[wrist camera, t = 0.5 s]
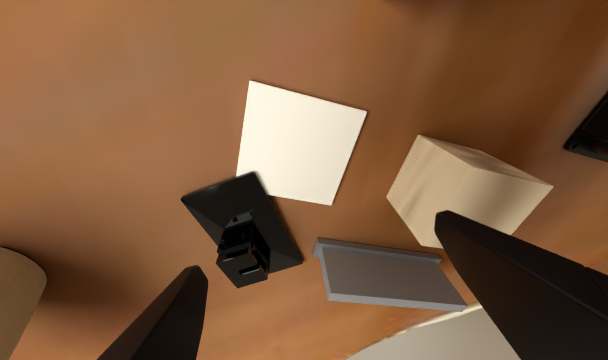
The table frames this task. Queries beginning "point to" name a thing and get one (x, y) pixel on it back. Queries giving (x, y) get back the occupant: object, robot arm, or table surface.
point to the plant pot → (17, 297)
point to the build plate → (243, 229)
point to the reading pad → (297, 142)
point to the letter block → (461, 189)
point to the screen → (385, 276)
